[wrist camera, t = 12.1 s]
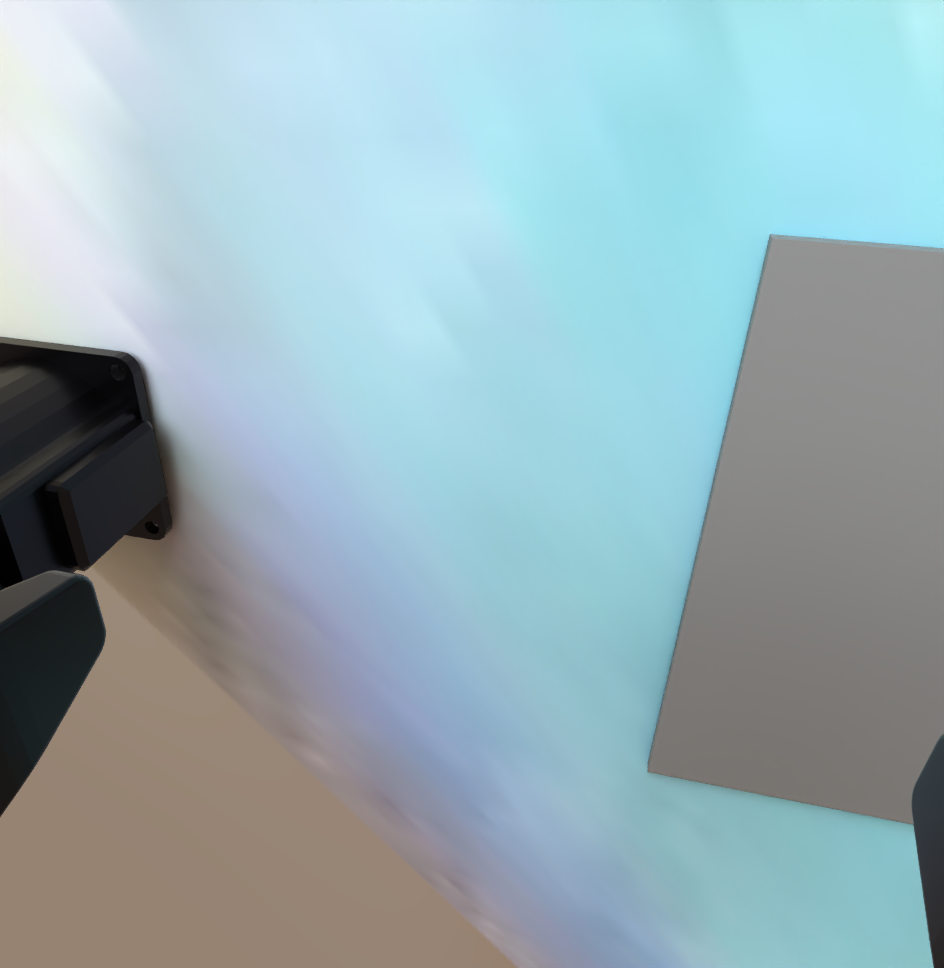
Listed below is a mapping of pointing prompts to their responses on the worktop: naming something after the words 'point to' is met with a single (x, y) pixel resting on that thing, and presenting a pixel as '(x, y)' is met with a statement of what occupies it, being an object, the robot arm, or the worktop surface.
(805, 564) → the slate mat
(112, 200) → the worktop surface
